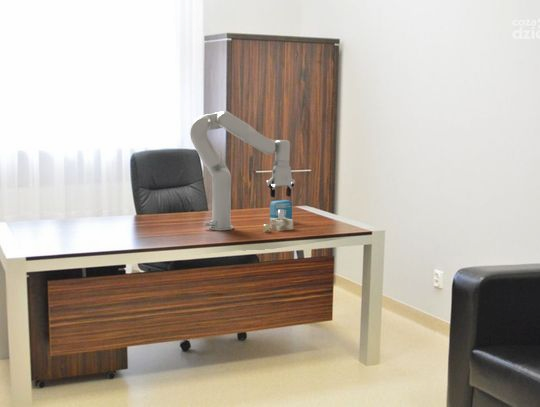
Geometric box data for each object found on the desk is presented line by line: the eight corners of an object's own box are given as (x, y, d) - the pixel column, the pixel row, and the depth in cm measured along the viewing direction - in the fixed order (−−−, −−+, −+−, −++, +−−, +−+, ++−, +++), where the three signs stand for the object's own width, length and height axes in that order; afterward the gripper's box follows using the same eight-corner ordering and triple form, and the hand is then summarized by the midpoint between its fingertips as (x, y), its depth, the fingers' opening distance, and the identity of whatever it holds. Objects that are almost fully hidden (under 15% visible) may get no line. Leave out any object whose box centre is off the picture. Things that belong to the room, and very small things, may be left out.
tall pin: (280, 229, 376) (280, 210, 375) (276, 228, 379) (277, 209, 377) (285, 228, 378) (285, 210, 376) (281, 227, 381) (282, 209, 379)
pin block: (278, 230, 372) (278, 221, 372) (269, 228, 380) (269, 218, 379) (293, 229, 377) (293, 219, 376) (283, 226, 385) (283, 217, 384)
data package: (274, 224, 391) (274, 202, 389) (269, 223, 394) (270, 201, 393) (292, 222, 398) (292, 200, 396) (287, 220, 401) (287, 199, 400)
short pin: (265, 232, 367) (265, 225, 366) (262, 231, 370) (262, 224, 369) (270, 232, 369) (270, 224, 368) (267, 231, 371) (267, 223, 371)
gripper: (271, 165, 366) (270, 198, 368) (299, 164, 375) (298, 196, 377) (263, 163, 372) (262, 196, 374) (291, 162, 381) (290, 194, 384)
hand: (280, 196), depth 376 cm, fingers open, 9 cm apart
